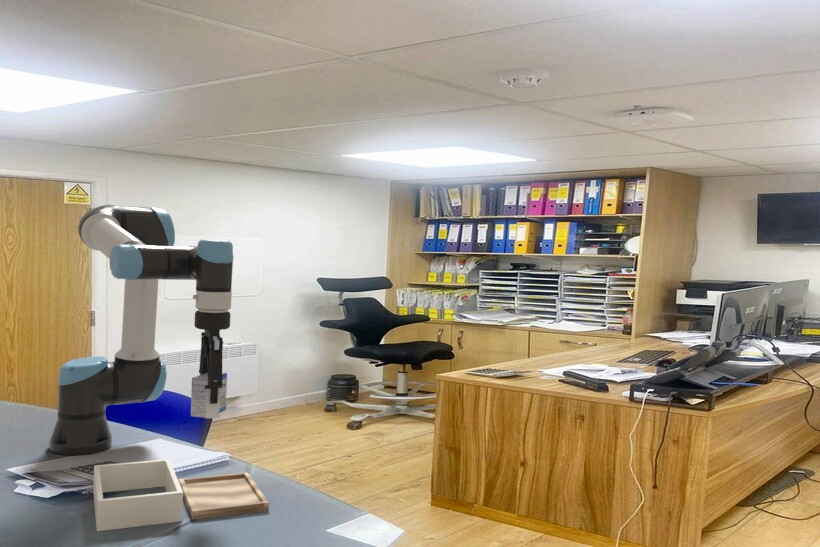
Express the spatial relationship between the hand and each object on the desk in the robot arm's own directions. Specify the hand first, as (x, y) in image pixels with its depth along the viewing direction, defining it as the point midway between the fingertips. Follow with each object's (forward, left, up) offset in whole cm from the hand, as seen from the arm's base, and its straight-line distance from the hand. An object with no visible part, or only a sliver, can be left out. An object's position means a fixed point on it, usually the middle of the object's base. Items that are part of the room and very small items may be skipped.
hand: (208, 412), depth 155 cm
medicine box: (0, 0, 0) cm, 1 cm away
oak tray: (0, +4, -20) cm, 20 cm away
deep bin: (-1, -14, -20) cm, 24 cm away
